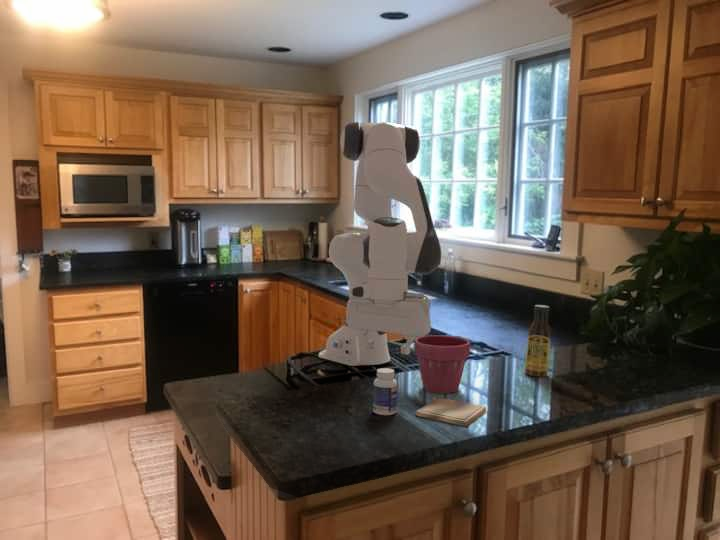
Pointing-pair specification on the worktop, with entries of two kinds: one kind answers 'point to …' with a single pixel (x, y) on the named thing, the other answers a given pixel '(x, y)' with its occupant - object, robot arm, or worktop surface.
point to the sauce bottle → (538, 343)
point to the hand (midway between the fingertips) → (386, 351)
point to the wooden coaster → (451, 411)
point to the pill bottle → (385, 392)
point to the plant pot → (441, 361)
